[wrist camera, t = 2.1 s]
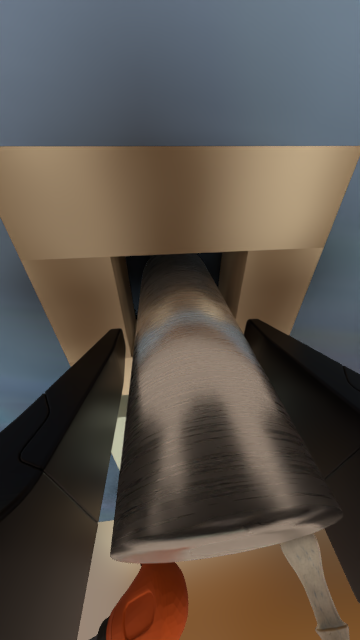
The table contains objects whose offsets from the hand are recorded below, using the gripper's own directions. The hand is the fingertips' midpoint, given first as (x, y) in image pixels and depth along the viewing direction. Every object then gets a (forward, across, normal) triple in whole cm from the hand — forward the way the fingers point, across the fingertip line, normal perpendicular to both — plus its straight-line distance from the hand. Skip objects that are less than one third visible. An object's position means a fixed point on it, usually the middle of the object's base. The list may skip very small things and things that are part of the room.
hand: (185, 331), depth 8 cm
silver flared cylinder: (+5, 0, 0) cm, 5 cm away
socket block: (+5, 0, 0) cm, 5 cm away
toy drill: (+5, +7, +33) cm, 34 cm away
